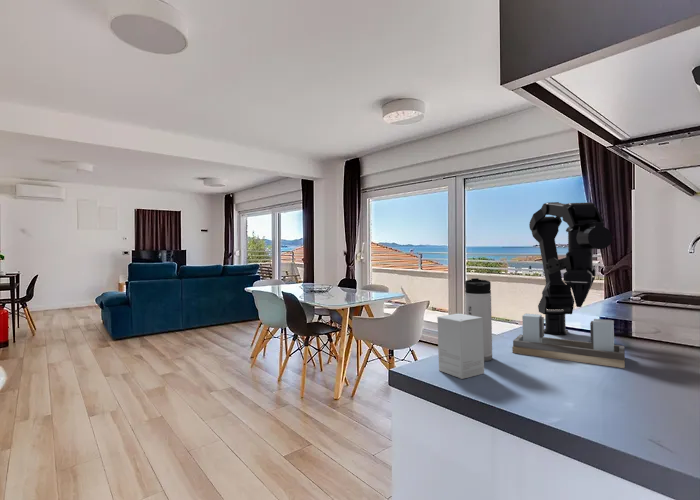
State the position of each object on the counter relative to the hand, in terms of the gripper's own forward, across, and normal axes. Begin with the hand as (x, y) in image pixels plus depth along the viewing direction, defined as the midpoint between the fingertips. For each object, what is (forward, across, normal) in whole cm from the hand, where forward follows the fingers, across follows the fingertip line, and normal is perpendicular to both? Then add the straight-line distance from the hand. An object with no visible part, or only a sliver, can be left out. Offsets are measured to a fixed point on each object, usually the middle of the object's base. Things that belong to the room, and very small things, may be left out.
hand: (580, 304), depth 104 cm
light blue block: (+10, +12, +6) cm, 16 cm away
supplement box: (+11, +39, -20) cm, 45 cm away
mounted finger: (+10, +12, -10) cm, 18 cm away
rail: (+11, +12, -2) cm, 16 cm away
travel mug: (+12, +26, -20) cm, 35 cm away
